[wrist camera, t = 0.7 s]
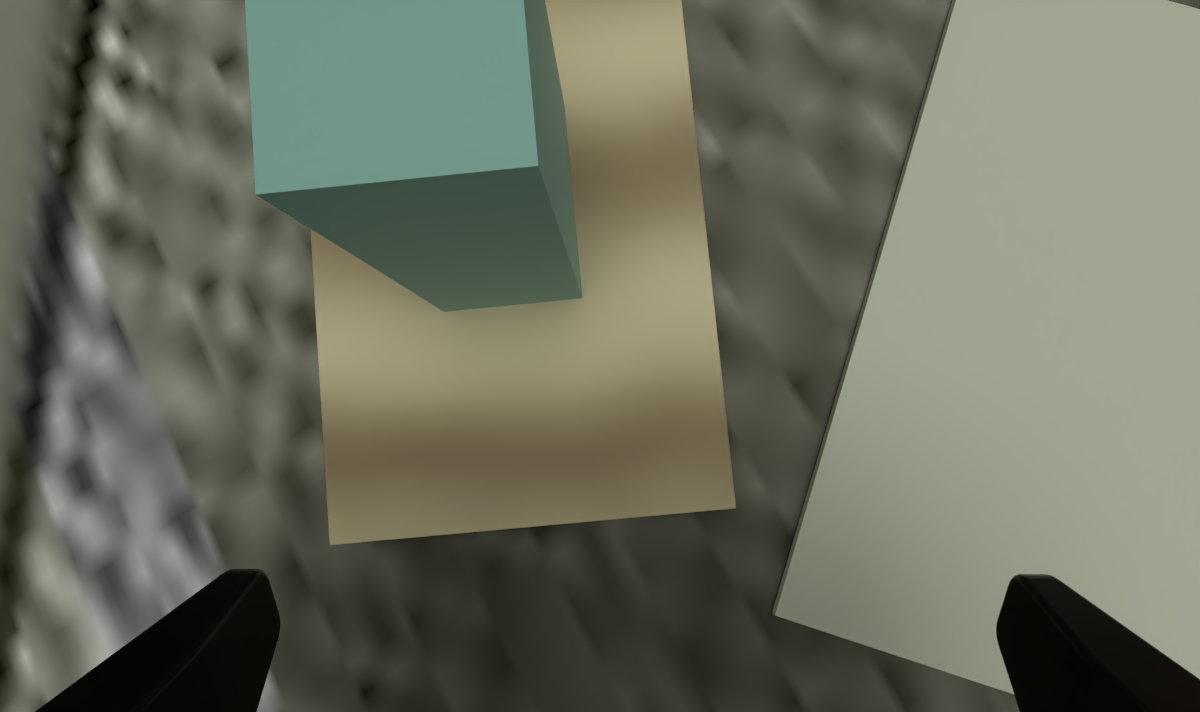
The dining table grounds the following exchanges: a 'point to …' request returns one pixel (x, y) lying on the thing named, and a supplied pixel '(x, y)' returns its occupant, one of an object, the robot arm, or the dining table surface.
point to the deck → (546, 333)
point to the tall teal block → (420, 141)
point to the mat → (1024, 347)
